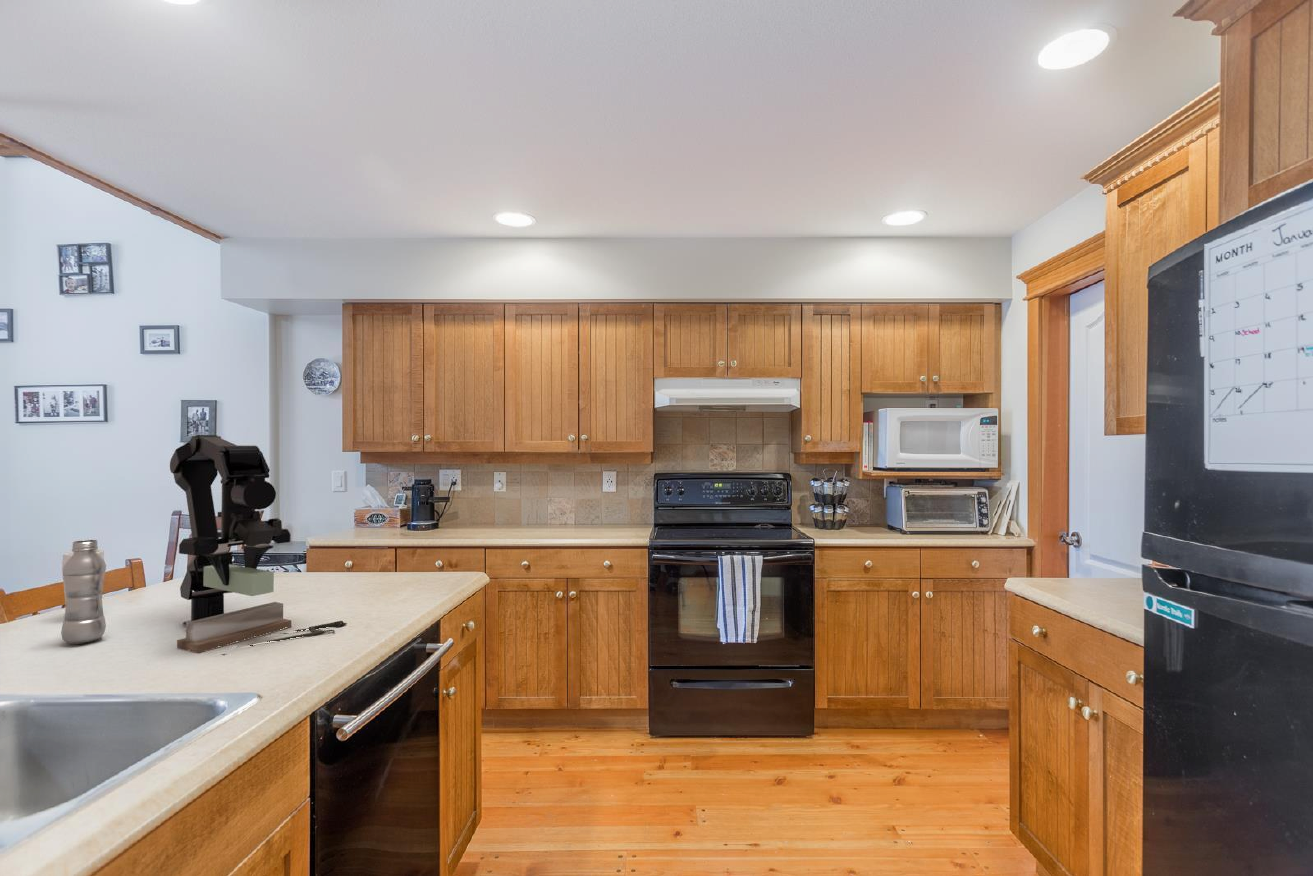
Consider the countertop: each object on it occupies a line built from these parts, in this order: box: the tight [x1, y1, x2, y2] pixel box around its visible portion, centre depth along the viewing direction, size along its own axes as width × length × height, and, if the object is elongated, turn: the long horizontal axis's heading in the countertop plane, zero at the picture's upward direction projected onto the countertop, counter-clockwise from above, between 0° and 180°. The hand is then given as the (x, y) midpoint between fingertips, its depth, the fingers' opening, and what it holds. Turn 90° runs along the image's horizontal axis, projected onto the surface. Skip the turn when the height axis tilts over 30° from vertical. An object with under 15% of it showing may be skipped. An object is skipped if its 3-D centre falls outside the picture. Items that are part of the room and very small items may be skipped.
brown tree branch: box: [221, 620, 348, 656], centre depth 121 cm, size 24×10×2 cm, turn 123°
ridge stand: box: [176, 601, 292, 654], centre depth 123 cm, size 7×18×5 cm, turn 155°
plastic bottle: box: [60, 539, 107, 644], centre depth 119 cm, size 6×7×20 cm
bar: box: [203, 564, 275, 597], centre depth 123 cm, size 18×4×4 cm, turn 62°
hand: (237, 583), depth 123 cm, fingers closed on bar, 4 cm apart
